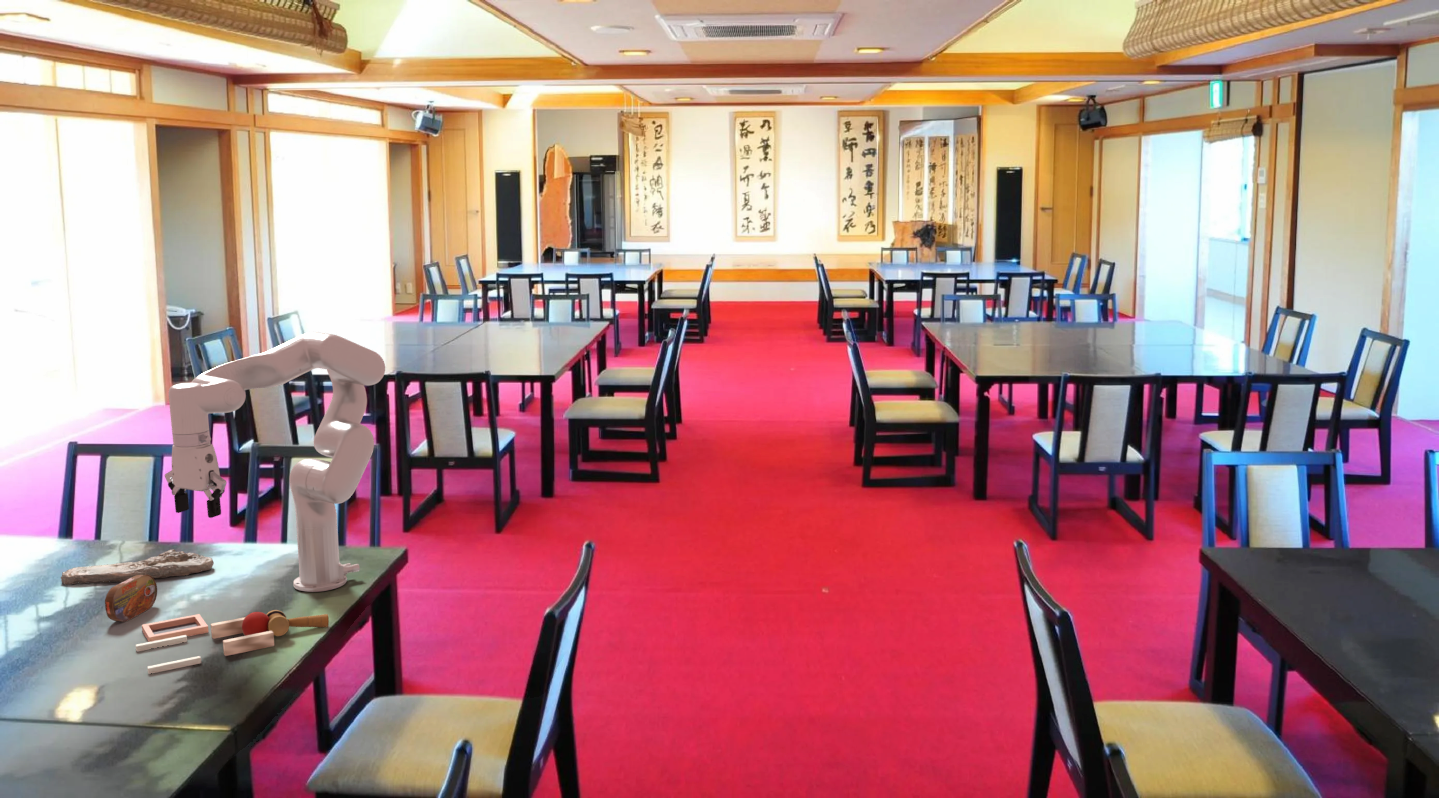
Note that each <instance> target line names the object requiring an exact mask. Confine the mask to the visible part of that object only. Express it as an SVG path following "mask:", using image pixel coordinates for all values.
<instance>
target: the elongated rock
mask: <svg viewBox="0 0 1439 798" xmlns="http://www.w3.org/2000/svg"><path fill="white" fill-rule="evenodd" d="M214 564H215V563H214V560H213V558H212V557H209V556H205V555H200V554H198V553H195V552H186V553H185V551H176V550H175V549H174V548H173V549H169V550H167V551H164V552H162V553H159V554H158V556H157V555H156V556H150V557H149V558H148V557H147V559H142V560H140V561H135V562H134V561H128V562H120V563H118V562H117V563H112V564H101V565H100V564H99V565H91V566H77V567H72V568H70V569H67V570H65V571H63V572H62V574H61V576H60V581H61V583H62V584H64V585H69V586H71V585H77V584H78V585H79V584H100V583H101V584H102V583H103V584H108V583H117V582H118V583H119V582H120V583H122V582H124V581H126V580H128V579H130V578H132V577H134V576H136V575H150V576H152V577H153V578H154V579H163V578H164V579H165V578H169V577H185V575H186V576H189V575H190V574H195V573H196V574H197V573H201V572H204V571H205V572H206V571H209V570H211V569H212V568H213V566H214Z"/></svg>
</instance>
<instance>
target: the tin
mask: <svg viewBox="0 0 1439 798" xmlns="http://www.w3.org/2000/svg"><path fill="white" fill-rule="evenodd" d="M157 596H158V586H157V582H156V580H155V578H153V577H152V576H150V575H136V576H134V577H132V578H130V579H128V580H126V581H122V582H120V583H118V584H116V585H114V586H112V587H111V588H110V589H109V590H108V591H107V594H106V595H105V599H104V608H105V611H106V612H105V613H106V615H107V617H108V618H109V620H111V621H114V622H122V623H125V622H128V621H130V620H133V619H134V618H136V617H137V616H139V615H141V614H143V613H145V612H146V611H148V610H150V609H151V608H152V607H153V606H154V605H155V602H156V600H157Z"/></svg>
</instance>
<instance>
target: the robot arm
mask: <svg viewBox="0 0 1439 798" xmlns="http://www.w3.org/2000/svg"><path fill="white" fill-rule="evenodd" d="M314 369H321V370H322V369H323V370H326V371H327V374H328V377H329V379H330V381H331V385H332V397H331V399H330V400H331V401H330V403H329V405H328V408H327V410H326V412H325V414H324V416H323V418H322V420H321V422H320V424H319V427H318V428H317V430H316V432H315V435H314V437H313V447H314V449H315V450H316V452H318V453H319V454H320V455H322V456H325V457H327V458H332V459H331V460H330V461H326V460H323V459H318V458H304V459H301V460H300V461H298V462H297V463H296V464H294V466H293V467H292V468H291V470H290V472H289V487H290V488H289V489H290V492H291V496H292V499H293V504H294V510H295V512H294V513H295V522H296V524H295V525H296V542H297V556H298V569H299V570H298V572H299V576H298V577H296V578H294V580H293V582H292V584H293V585H292V586H293V587H294V589H296V590H298V591H300V592H301V591H302V592H307V593H314V592H315V593H316V592H327V591H331V590H335V589H338V588H341V587H342V586H344V585H346V583H347V581H348V578H347V575H348V574H349V573H356V572H357V573H358V572H360V564H359V563H355V564H352V563H350V562H348V563H344V564H342V563H341V562H340V551H339V548H340V547H339V533H338V532H339V531H338V514H337V509H336V508H337V507H336V504H337V505H338V504H342V503H345V502H347V501H348V500H349V499H350V498H351V496H353V494H354V493H355V491H356V489H357V487H358V485H359V483H360V481H361V479H362V477H363V475H364V473H365V471H366V468H367V466H368V464H369V462H370V460H371V458H372V455H373V452H374V448H375V447H374V446H375V440H374V439H375V438H374V434H373V432H372V431H371V429H370V428H368V427H367V426H366V425H363V424H362V423H361V422H362V419H363V417H364V415H365V412H366V410H367V405H368V397H367V391H366V388H365V386H373V385H376V384H378V383H379V382H381V380H382V379H383V378H384V375H385V373H386V365H385V361H384V359H383V357H382V356H381V355H380V354H379V353H377V352H376V351H374V350H373V349H370V348H368V347H365V346H363V345H360V344H357V343H356V342H353V341H351V340H349V339H348V338H347V339H346V338H344V337H341V336H339V335H337V334H332V333H331V334H330V333H326V332H325V333H323V332H319V331H318V332H316V331H311V332H310V331H309V332H305V333H303V334H300V335H298V336H296V337H294V338H291V339H289V340H288V341H286V342H283V343H282V344H279V345H277V346H274V347H273V348H270V349H269V350H266V351H264V352H261V353H257V354H252V355H250V356H246V357H242V358H240V359H236V360H233V361H229V362H226V363H223V364H220V365H218V366H216V367H213V368H211V369H209V370H207V371H204V372H202V373H201V374H198V375H197V376H196V377H194V378H193V380H192V381H191V382H181V383H177V384H174V385H171V386H170V387H169V389H168V403H169V404H168V405H169V412H170V413H169V414H170V425H171V433H172V435H171V436H172V448H171V470H169V471H168V472H167V473H165V474H164V477H165V480H166V482H167V486H168V488H169V489H170V490H171V495H172V496H173V497H174V507H175V509H174V510H175V513H176V514H179V513H183V512H186V511H188V510H189V509H190V505H189V494H188V492H186V490H189V491H197V492H203V493H204V494H205V496H206V497H207V500H206V508H207V509H206V510H207V517H208V518H210V519H212V518H216V517H218V516H221V515H222V508H221V498H222V497H223V494H224V493H225V490H226V486H227V480H225V478H223V477H222V476H221V474H220V467H219V461H218V457H217V453H216V450H215V447H214V444H212V443H211V441H212V438H211V434H210V426H209V425H210V424H209V423H210V422H209V414H227V413H232V412H236V411H237V410H239V409H240V408H241V407H242V406H243V405H244V403H245V401H246V396H247V395H246V391H247V390H252V389H253V390H254V389H256V390H257V389H268V388H274V387H278V386H279V387H280V386H283V385H284V384H286V383H288V382H290V381H293V380H294V379H296V378H298V377H300V376H302V375H304V374H306V373H308V372H311V371H313V370H314Z"/></svg>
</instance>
